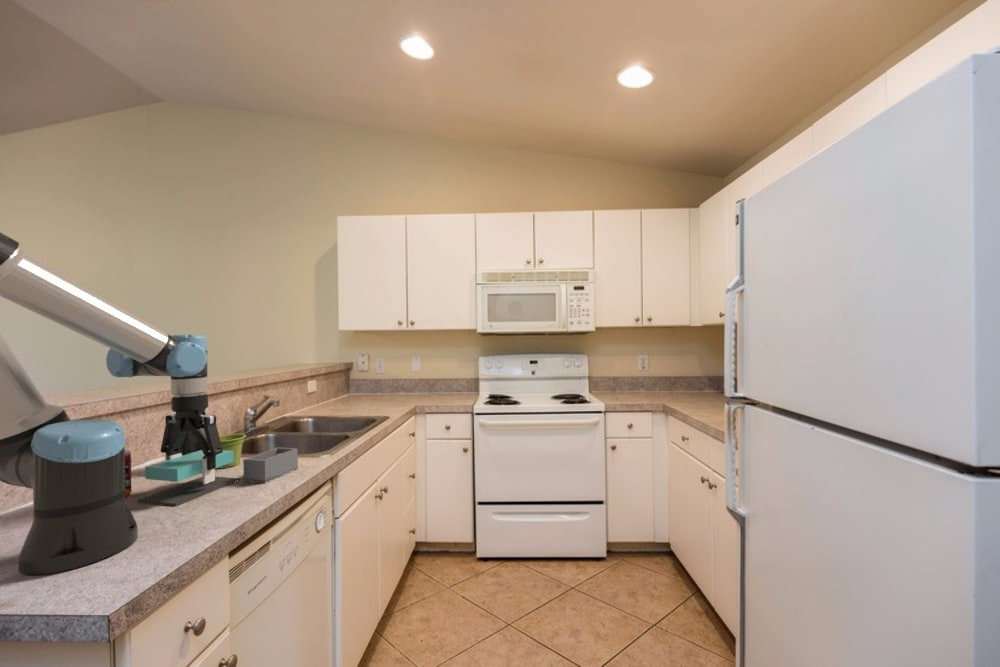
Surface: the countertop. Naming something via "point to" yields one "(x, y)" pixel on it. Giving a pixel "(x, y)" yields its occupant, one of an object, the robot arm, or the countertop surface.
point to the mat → (186, 491)
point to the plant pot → (232, 447)
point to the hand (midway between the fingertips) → (192, 480)
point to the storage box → (270, 464)
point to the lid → (184, 466)
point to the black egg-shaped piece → (188, 445)
